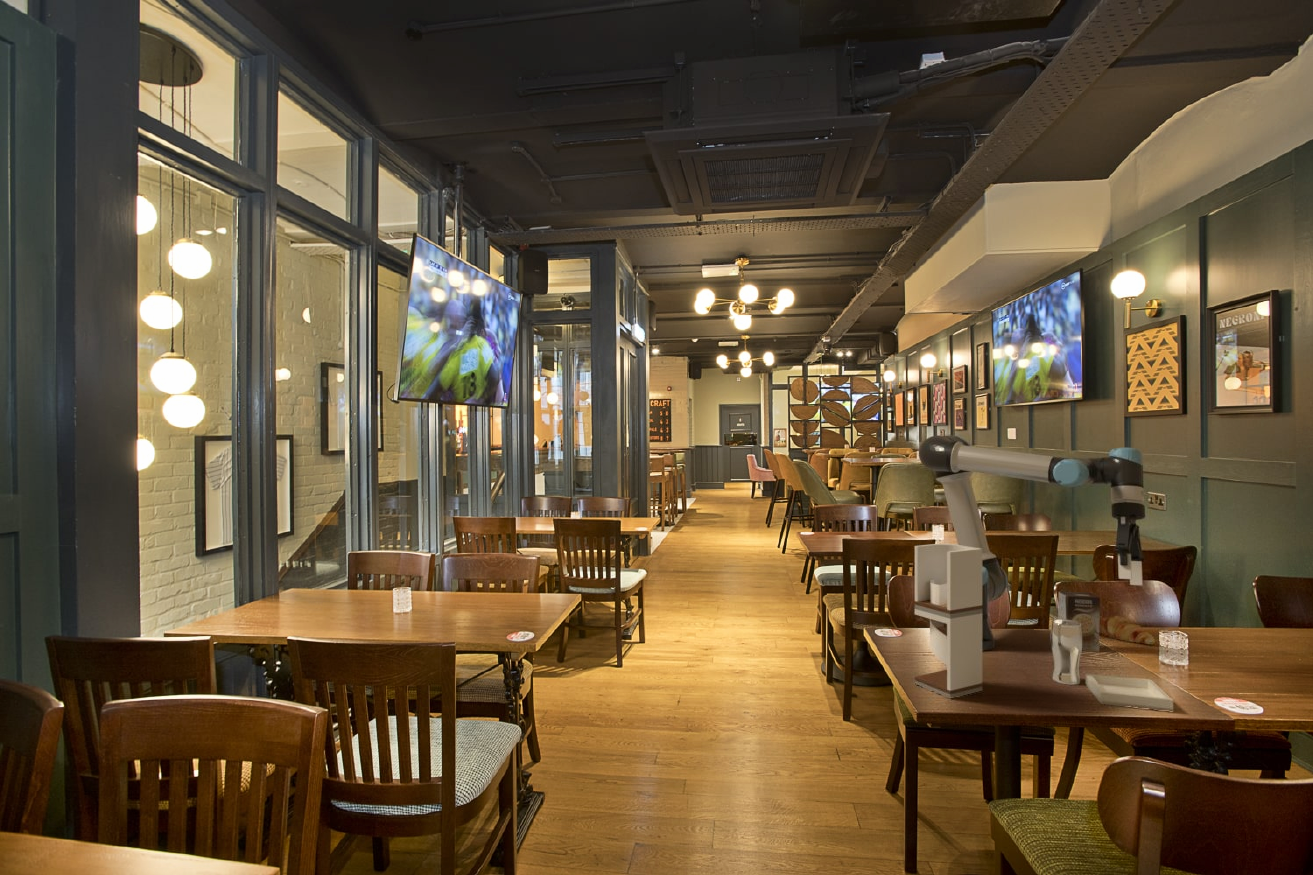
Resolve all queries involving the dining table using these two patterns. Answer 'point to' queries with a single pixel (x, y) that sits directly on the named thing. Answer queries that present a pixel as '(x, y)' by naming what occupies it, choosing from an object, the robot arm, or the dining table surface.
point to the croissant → (1124, 630)
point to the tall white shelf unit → (951, 615)
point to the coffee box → (1082, 615)
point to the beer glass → (1066, 650)
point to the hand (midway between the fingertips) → (1130, 582)
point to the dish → (1128, 692)
